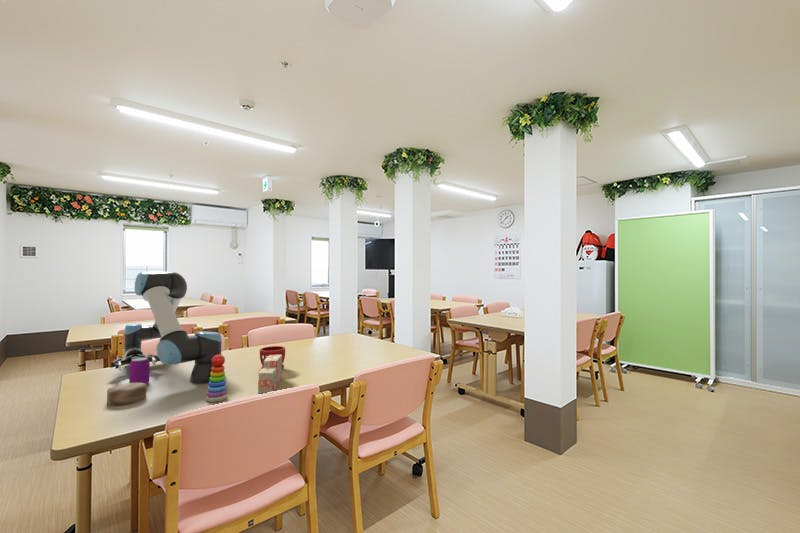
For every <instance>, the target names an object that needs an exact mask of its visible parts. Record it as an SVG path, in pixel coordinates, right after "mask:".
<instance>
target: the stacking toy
mask: <svg viewBox="0 0 800 533" xmlns="http://www.w3.org/2000/svg"><path fill="white" fill-rule="evenodd" d="M225 362H226V358H225V356H224V355H222V354H221V355H215V356H214V357H213V358H212V364H213V365H214V366H213V367H212V368H211V370H212V372H211V373H210V375H211V377H210V382H209V383H208V387H207V391H206V396H205V400H206V401H207V402H210V403H217V401H218V402H222V401H224V400H225V399H226V398H228V393H227V384H226V382H227V381H226V372H224V371H225V368H226V367H225V365H224V364H225ZM223 370H224V371H223ZM224 374H225V375H224Z"/></svg>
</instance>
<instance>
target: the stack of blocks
mask: <svg viewBox="0 0 800 533" xmlns="http://www.w3.org/2000/svg"><path fill="white" fill-rule="evenodd" d="M266 357H267V356H266ZM282 370H283V369H282V355H269V356H268V357H267V358H266V359H265V360H264V368H263V369H261V370H260V371H259V372H258V381H257V382H258V383H257V391H258V392H257V393H258V394H266V393H265V392H270V391H273V392H274V391H275V389H276V388H277V386H278V384H279V383H280V382H281V380H282V378H283V377H282V376H283V371H282Z"/></svg>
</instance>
